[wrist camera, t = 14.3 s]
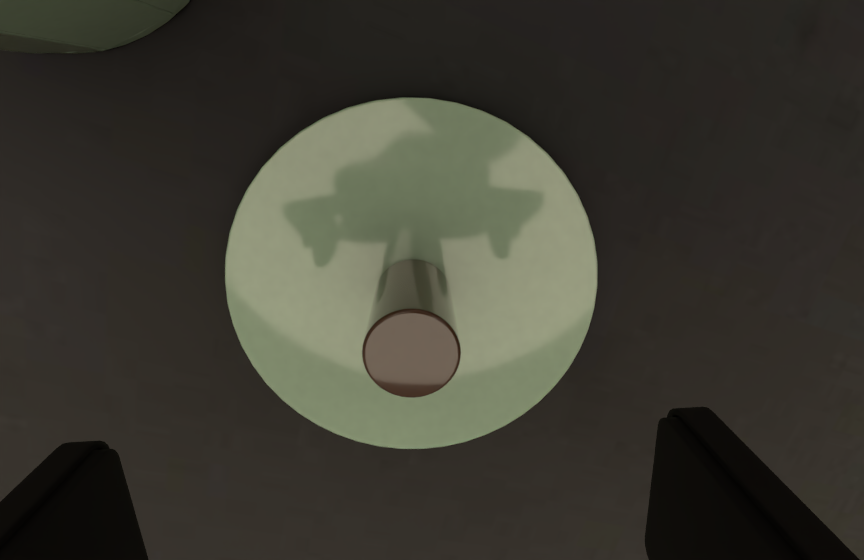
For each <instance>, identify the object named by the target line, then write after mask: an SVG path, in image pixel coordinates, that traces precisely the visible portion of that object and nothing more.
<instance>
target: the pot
mask: <svg viewBox="0 0 864 560" xmlns="http://www.w3.org/2000/svg"><path fill="white" fill-rule="evenodd" d="M189 1H190V0H0V50H7V51H15V52H22V53H30V54H34V53H69V54H80V53H89V52H98V51H104V50H108V49H112V48H115V47H119V46H123V45H126V44H128V43H131V42H133V41H135V40H137V39H140V38H142V37H144V36H146V35H148V34H150V33H151V32H153V31H154V30H156V29H157V28H159V27H161V26H162V25H164V24H165V23H167V22H168V21H169V20H170V19H171V18H173V17H174V16H175V15H176V14H177V13H178V12H179V11H180V10H181V9H182V8H184V7H185V6H186V5H187V4H188V2H189Z"/></svg>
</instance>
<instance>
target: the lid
mask: <svg viewBox="0 0 864 560" xmlns="http://www.w3.org/2000/svg"><path fill="white" fill-rule="evenodd" d="M597 285H598V262H597V255H596V248H595V241H594V236H593V233H592V229H591V226H590V222H589V219H588V216H587V213H586V211H585V209H584V207H583V205H582V202H581V200H580V198H579V196H578V194H577V192H576V190H575V189H574V187H573V186H572V184H571V183H570V181H569V179H568V178H567V176H566V175H565V173H564V172H563V171H562V170H561V168H560V167H559V166H558V165H557V164H556V162H555V161H554V160H553V159H552V158H551V157H550V155H549V154H548V153H547V152H546V151H544V150H543V149H542V148H541V147H540V146H539V145H538V144H536V143H535V142H534V141H533V140H532V139H531V138H530V137H529V136H527V135H525V134H524V133H522V132H521V131H519V130H518V129H516V128H515V127H513V126H512V125H510V124H509V123H507V122H505V121H503V120H501V119H499V118H497V117H495V116H493V115H491V114H489V113H486V112H484V111H482V110H479V109H476V108H473V107H469V106H466V105H463V104H460V103H457V102H451V101H445V100H439V99H433V98H411V97H400V98H391V99H382V100H374V101H370V102H366V103H363V104H359V105H355V106H351V107H347V108H345V109H343V110H340V111H338V112H335V113H333V114H331V115H328V116H326V117H323V118H322V119H320V120H318V121H317V122H315V123H313V124H312V125H310V126H308V127H306V128H305V129H303V130H301V131H300V132H299V133H297V134H296V135H295V136H294V137H292V138H291V139H290V140H289V141H287V142H286V143H285V144H284V145H282V146H281V147H280V148H279V149H278V150H277V151H276V152H275V153H274V154H273V156H272V157H271V158H270V159H269V160H268V161H267V162H266V163H265V164H264V165H263V166H262V168H261V169H260V171H259V172H258V173H257V175H256V176H255V178H254V179H253V181H252V182H251V184H250V185H249V186H248V188H247V190H246V192H245V194H244V196H243V198H242V200H241V202H240V204H239V206H238V208H237V211H236V214H235V217H234V220H233V223H232V226H231V229H230V232H229V238H228V244H227V250H226V256H225V286H226V295H227V303H228V307H229V311H230V315H231V319H232V322H233V326H234V328H235V331H236V333H237V336H238V338H239V341H240V343H241V346H242V348H243V349H244V351H245V353H246V355H247V356H248V358H249V360H250V362H251V363H252V365H253V367H254V368H255V369H256V371H257V372H258V373H259V375H260V376H261V377H262V379H263V380H264V381H265V382H266V384H267V385H268V386H269V387H270V388H271V389H272V390H273V391H274V392H275V393H276V394H277V395H278V396H279V397H280V398H281V399H282V400H283V401H284V402H286V403H287V404H288V405H289V406H290V407H292V408H293V409H294V410H295V411H297V412H298V413H299V414H301V415H302V416H304V417H306V418H307V419H309V420H310V421H312V422H313V423H315V424H317V425H319V426H321V427H323V428H325V429H327V430H329V431H331V432H333V433H335V434H337V435H340V436H343V437H346V438H349V439H352V440H355V441H358V442H362V443H366V444H371V445H375V446H380V447H389V448H398V449H426V448H435V447H444V446H449V445H453V444H458V443H462V442H466V441H469V440H472V439H475V438H478V437H481V436H484V435H486V434H488V433H491V432H493V431H495V430H497V429H499V428H501V427H503V426H505V425H507V424H508V423H510V422H512V421H513V420H515V419H517V418H518V417H520V416H521V415H523V414H524V413H526V412H527V411H528V410H529V409H531V408H532V407H533V406H534V405H536V404H537V403H538V402H539V401H541V400H542V398H543V397H544V396H545V395H546V394H547V393H548V392H549V391H550V390H551V389H552V388H553V387H554V386H555V385H556V384H557V383H558V381H559V380H560V379H561V378H562V376H563V375H564V374H565V372H566V371H567V370H568V368H569V367H570V365H571V363H572V362H573V360H574V358H575V357H576V355H577V353H578V352H579V350H580V348H581V345H582V343H583V341H584V338H585V336H586V334H587V331H588V329H589V325H590V322H591V318H592V314H593V311H594V307H595V300H596V292H597Z"/></svg>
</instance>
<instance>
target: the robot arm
mask: <svg viewBox="0 0 864 560" xmlns="http://www.w3.org/2000/svg"><path fill="white" fill-rule="evenodd" d="M645 547H646V552H647V555H648V558H649V560H859V559H858V558H857V557H856V556H855V555H854V554H853V553H852V552H851V551H850V550H849V549H848V548H847V547H846V546H845V545H844V544H843V543H842V541H841V540H840V539H839V538H838V537H837V536H836V535H835V534H834V533H833V532H832V531H831V530H830V529H829V528H828V527H827V526H826V525H825V524H824V523H823V522H822V521H821V520H820V519H819V518H818V517H817V516H816V515H815V514H814V513H813V512H812V511H811V510H810V509H809V508H808V507H807V506H806V505H805V504H804V503H803V502H802V501H801V500H800V499H799V498H798V497H797V496H796V495H795V494H794V493H793V492H792V491H791V490H790V489H789V488H788V487H787V486H786V485H785V484H784V483H783V482H782V481H781V480H780V479H779V478H778V477H777V476H776V475H775V474H774V473H773V472H772V471H771V470H770V469H769V468H768V467H767V466H766V465H765V464H764V463H763V462H762V461H761V460H760V459H759V458H758V457H757V456H756V455H755V454H754V453H753V452H752V451H751V450H750V449H749V448H748V447H747V446H746V445H745V444H744V443H743V442H742V441H741V440H740V439H739V438H738V437H737V436H736V435H735V434H734V433H733V432H732V431H731V430H730V429H729V428H728V427H727V426H726V424H725V423H724V422H723V421H722V420H721V419H720V418H719V417H718V416H717V415H716V414H715V413H714V412H713V411H711V410H710V409H709V408H707V407H693V408H675V409H672V410H670V411H669V413H668V415H667V418H662V419H660V421H659V424H658V430H657V439H656V447H655V456H654V464H653V473H652V482H651V490H650V499H649V507H648V516H647V524H646V533H645ZM0 560H148V556H147V553H146V549H145V546H144V542H143V539H142V535H141V532H140V528H139V525H138V521H137V518H136V514H135V511H134V507H133V504H132V500H131V497H130V493H129V490H128V486H127V483H126V479H125V476H124V472H123V469H122V465H121V462H120V458H119V455H118V453H117V452H116V451H115V450H113V449H109V446H108V445H107V444H106V443H105V442H103V441H87V442H69V443H64V444H62V445H61V446H59V447H58V448H57V449H55V450H54V451H53V452H52V453H51V454H50V455H49V456H48V457H47V458H46V459H45V460H44V461H43V462H42V463H41V464H40V465H39V466H38V467H37V468H35V469H34V470H33V471H32V472H31V473H30V474H29V475H28V476H27V477H26V478H25V479H24V480H23V481H22V482H21V483H20V484H19V485H18V486H17V487H15V488H14V489H13V490H12V491H11V492H10V493H9V494H8V495H7V496H6V497H5V498H4V499H3V500H2V501H1V502H0Z"/></svg>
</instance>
